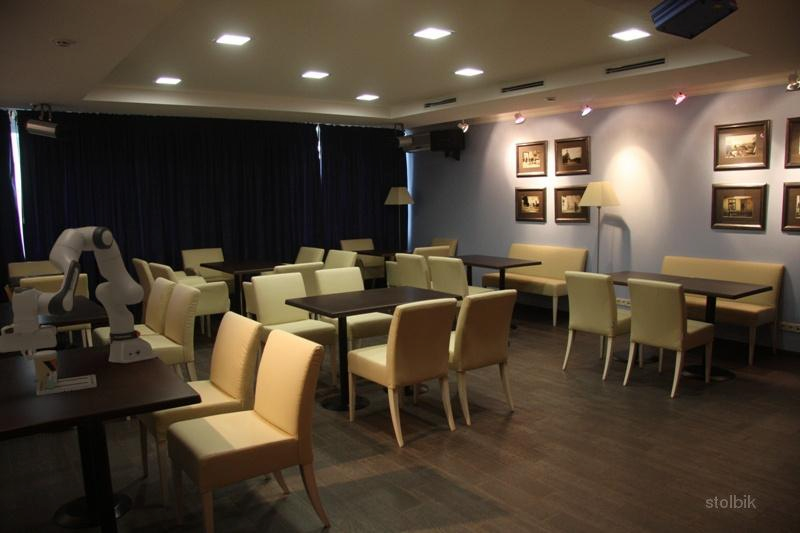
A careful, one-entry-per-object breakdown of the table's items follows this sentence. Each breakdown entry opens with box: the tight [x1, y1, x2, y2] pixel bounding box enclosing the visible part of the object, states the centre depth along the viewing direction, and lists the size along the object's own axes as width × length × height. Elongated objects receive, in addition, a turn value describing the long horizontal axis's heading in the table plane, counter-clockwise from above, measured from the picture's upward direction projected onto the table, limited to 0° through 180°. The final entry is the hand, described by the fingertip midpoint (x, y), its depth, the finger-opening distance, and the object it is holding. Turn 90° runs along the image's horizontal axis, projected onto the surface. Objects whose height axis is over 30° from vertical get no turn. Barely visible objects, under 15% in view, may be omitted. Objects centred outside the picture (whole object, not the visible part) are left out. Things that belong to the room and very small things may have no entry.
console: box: [36, 373, 98, 396], centre depth 257 cm, size 22×15×2 cm
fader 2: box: [50, 371, 58, 383], centre depth 258 cm, size 2×4×4 cm, turn 29°
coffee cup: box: [33, 349, 58, 382], centre depth 269 cm, size 9×9×12 cm
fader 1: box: [46, 376, 54, 389], centre depth 251 cm, size 2×4×4 cm, turn 29°
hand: (29, 360), depth 246 cm, fingers closed
